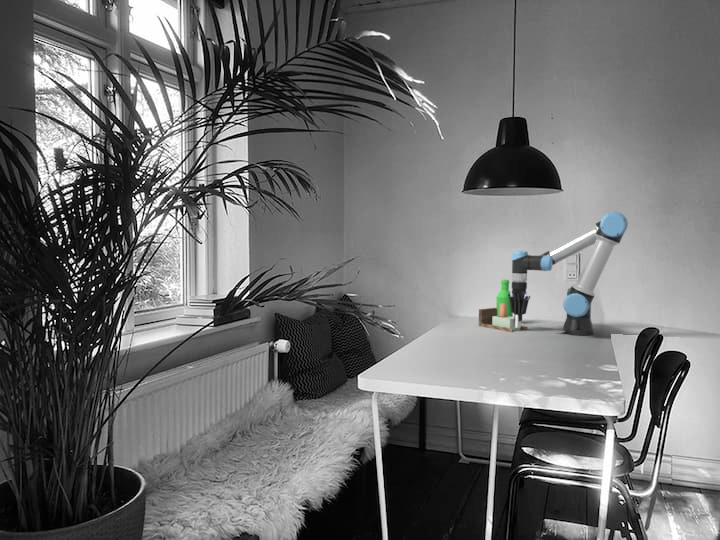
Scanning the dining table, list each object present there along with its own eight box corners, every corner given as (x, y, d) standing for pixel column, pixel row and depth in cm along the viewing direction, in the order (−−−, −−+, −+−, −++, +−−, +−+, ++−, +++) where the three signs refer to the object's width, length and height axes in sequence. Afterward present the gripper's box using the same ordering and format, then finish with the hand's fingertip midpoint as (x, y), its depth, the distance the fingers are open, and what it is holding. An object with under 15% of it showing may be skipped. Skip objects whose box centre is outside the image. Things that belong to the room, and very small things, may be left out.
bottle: (514, 324, 355) (515, 279, 353) (509, 326, 347) (510, 280, 346) (499, 323, 359) (500, 278, 358) (493, 325, 352) (494, 280, 350)
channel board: (527, 332, 329) (527, 312, 328) (511, 334, 322) (512, 314, 321) (494, 326, 347) (494, 307, 347) (478, 328, 341) (478, 309, 340)
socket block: (520, 329, 330) (520, 317, 330) (509, 330, 325) (509, 319, 325) (502, 326, 340) (502, 315, 339) (492, 327, 335) (492, 316, 335)
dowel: (507, 326, 334) (507, 303, 333) (502, 327, 332) (503, 304, 331) (502, 325, 337) (502, 303, 336) (497, 326, 335) (498, 303, 334)
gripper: (534, 282, 321) (533, 328, 323) (514, 280, 332) (513, 324, 333) (524, 282, 317) (523, 329, 318) (504, 280, 327) (503, 326, 329)
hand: (518, 327), depth 326 cm, fingers closed
